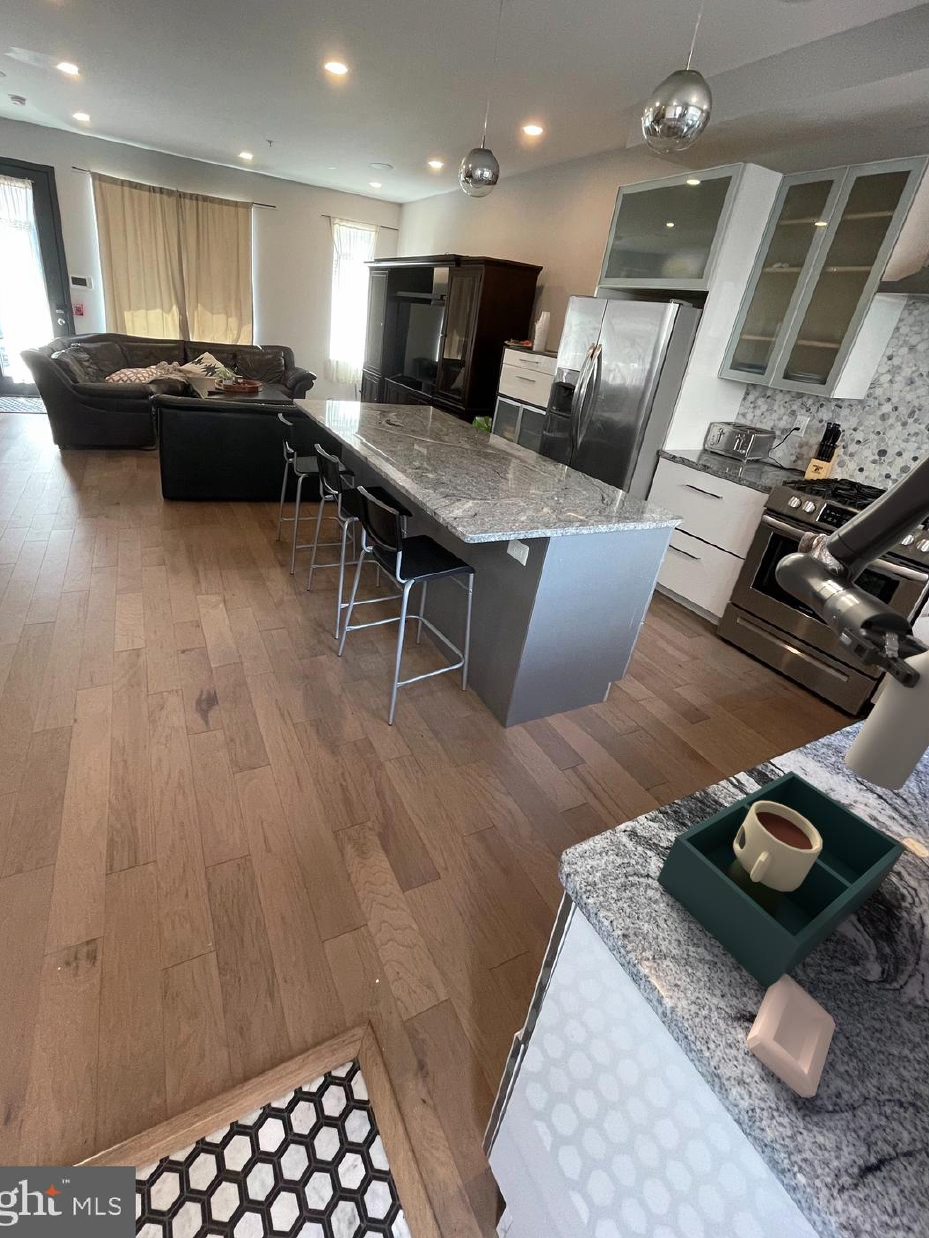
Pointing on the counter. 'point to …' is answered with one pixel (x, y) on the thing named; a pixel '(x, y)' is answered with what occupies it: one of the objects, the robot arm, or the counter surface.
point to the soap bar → (792, 1035)
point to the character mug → (773, 853)
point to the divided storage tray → (806, 913)
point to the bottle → (894, 732)
